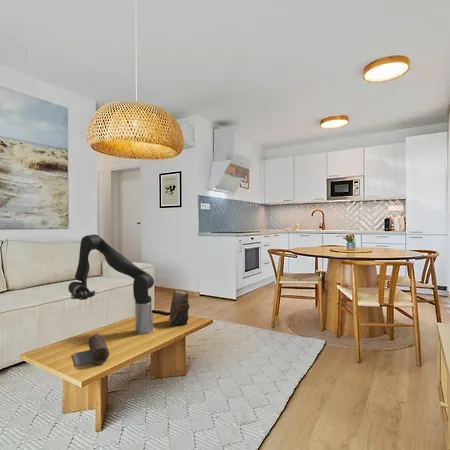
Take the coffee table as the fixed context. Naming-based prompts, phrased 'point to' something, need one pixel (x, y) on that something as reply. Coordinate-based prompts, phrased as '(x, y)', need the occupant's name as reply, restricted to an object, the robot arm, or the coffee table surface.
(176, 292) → the dark brown rough block
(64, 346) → the coffee table surface
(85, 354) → the mat
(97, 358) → the reddish brown cylinder
